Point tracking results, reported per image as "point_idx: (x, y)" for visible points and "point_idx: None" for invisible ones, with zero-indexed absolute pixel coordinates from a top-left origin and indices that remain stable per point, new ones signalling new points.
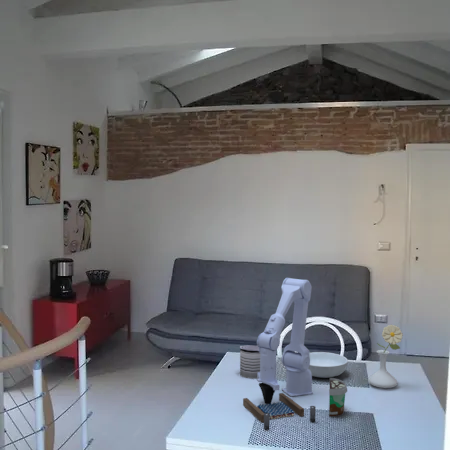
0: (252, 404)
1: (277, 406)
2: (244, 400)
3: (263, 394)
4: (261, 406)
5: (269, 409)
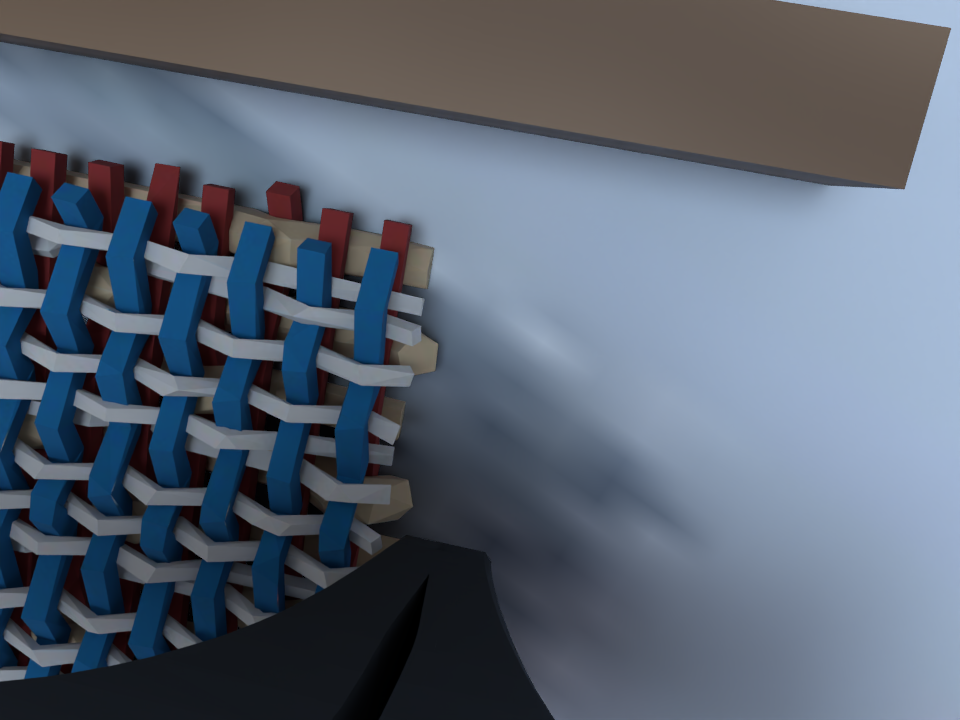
0: (290, 21)
1: (88, 648)
2: (805, 9)
3: (415, 646)
4: (293, 329)
5: (48, 394)
